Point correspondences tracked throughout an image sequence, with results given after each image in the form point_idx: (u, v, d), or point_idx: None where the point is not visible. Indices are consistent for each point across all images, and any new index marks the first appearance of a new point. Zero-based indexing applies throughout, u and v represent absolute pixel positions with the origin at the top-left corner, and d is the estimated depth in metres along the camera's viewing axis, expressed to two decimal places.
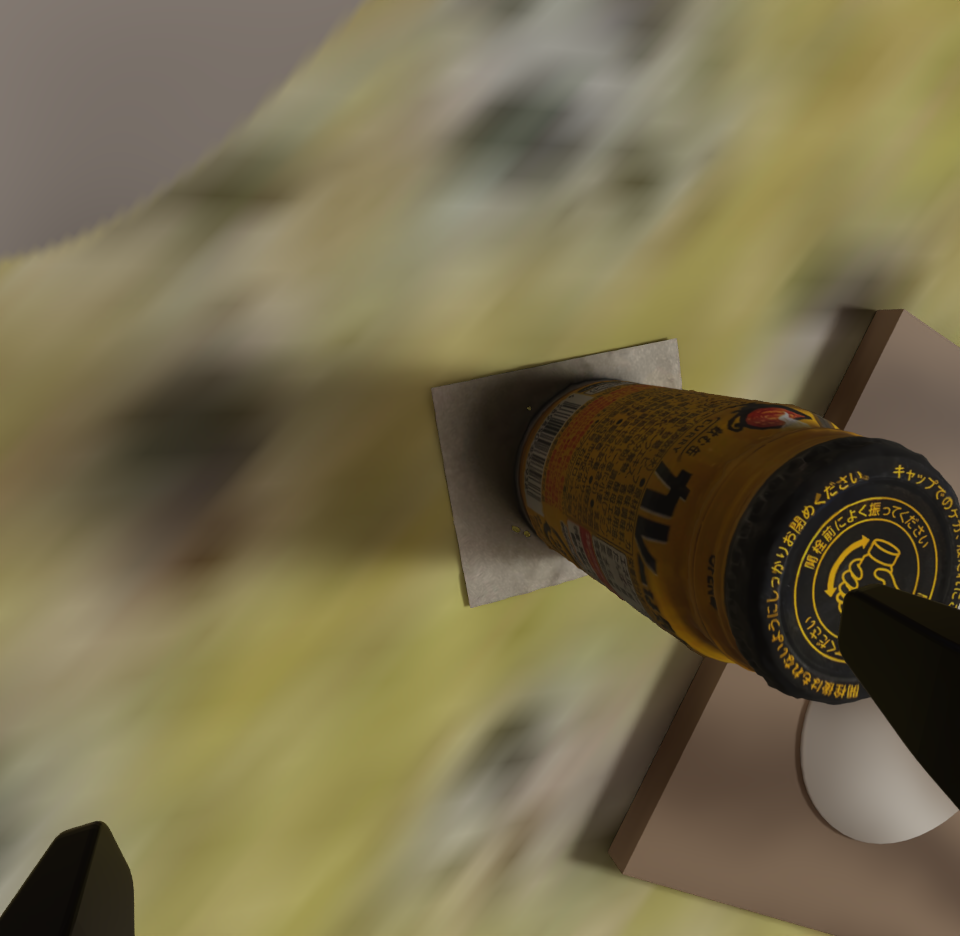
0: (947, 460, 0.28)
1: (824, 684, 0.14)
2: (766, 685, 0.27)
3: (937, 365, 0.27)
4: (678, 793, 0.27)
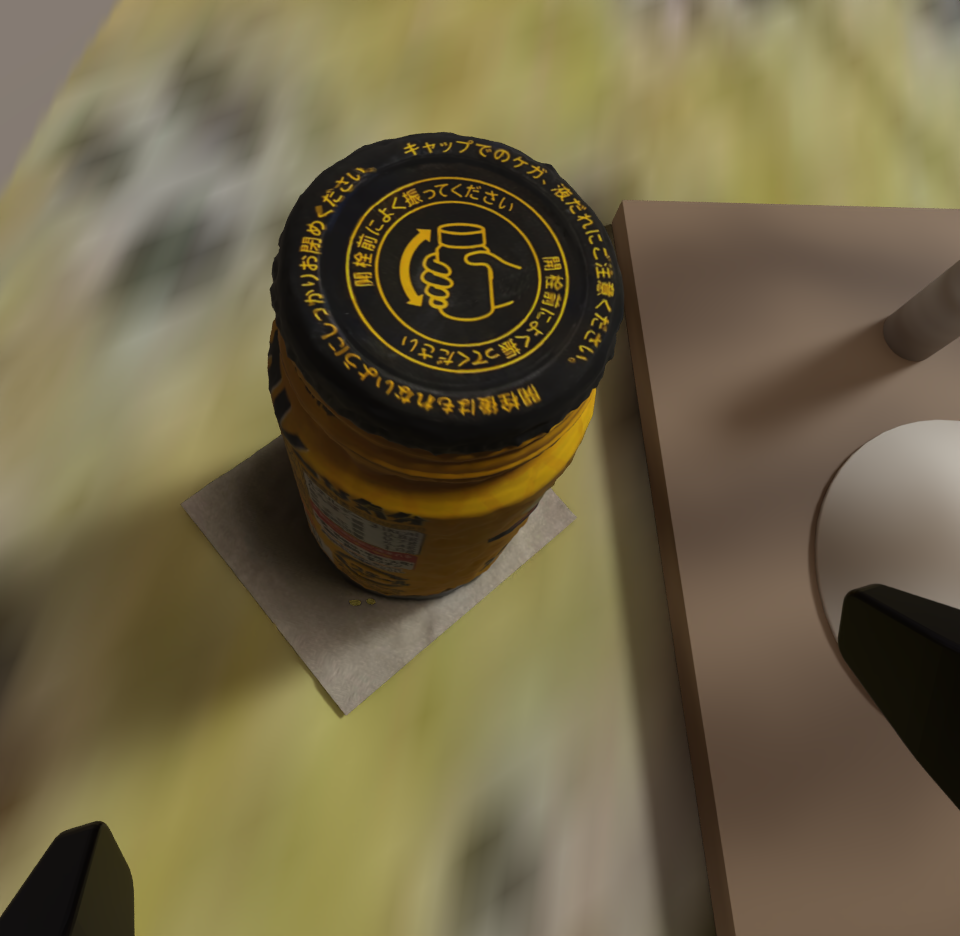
0: (779, 298, 0.25)
1: (480, 403, 0.10)
2: (756, 623, 0.21)
3: (696, 225, 0.25)
4: (741, 817, 0.19)
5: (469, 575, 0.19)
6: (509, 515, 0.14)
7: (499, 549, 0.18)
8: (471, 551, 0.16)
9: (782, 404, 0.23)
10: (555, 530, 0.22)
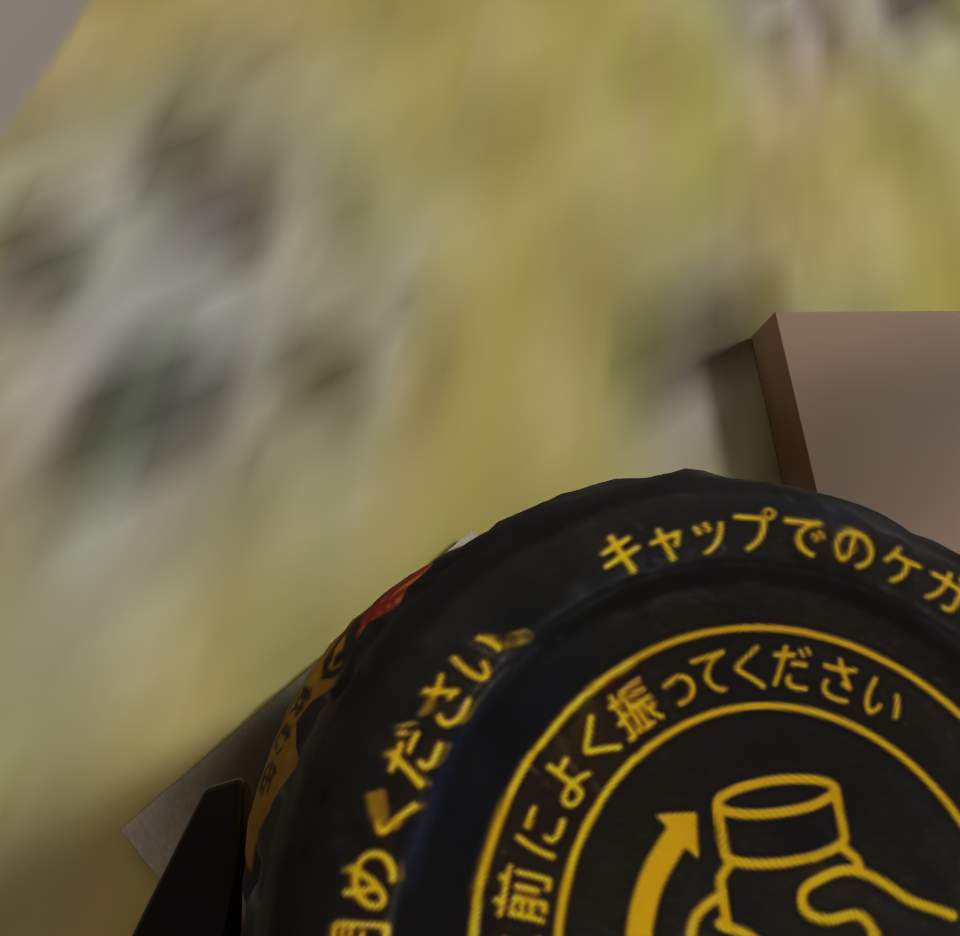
0: None
1: None
2: None
3: (878, 347, 0.18)
4: None
5: None
6: None
7: None
8: None
9: None
10: None
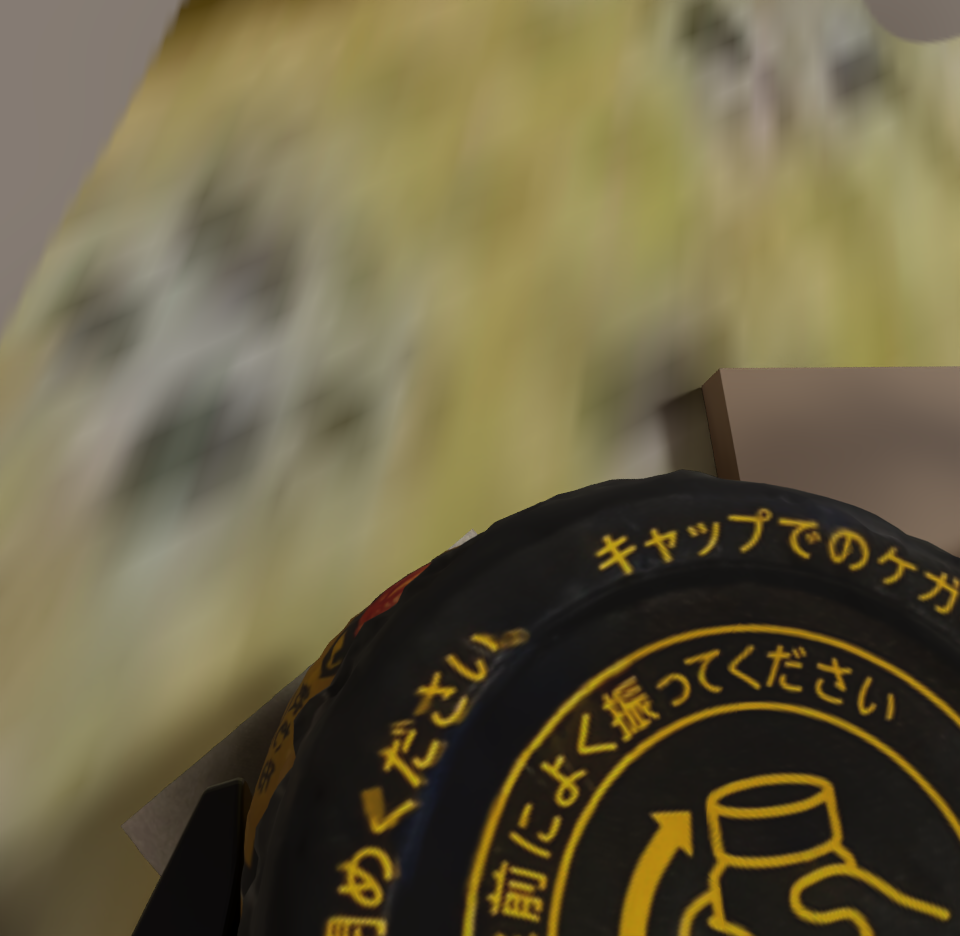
0: (906, 488, 0.21)
1: None
2: None
3: (806, 398, 0.21)
4: None
5: None
6: None
7: None
8: None
9: None
10: None
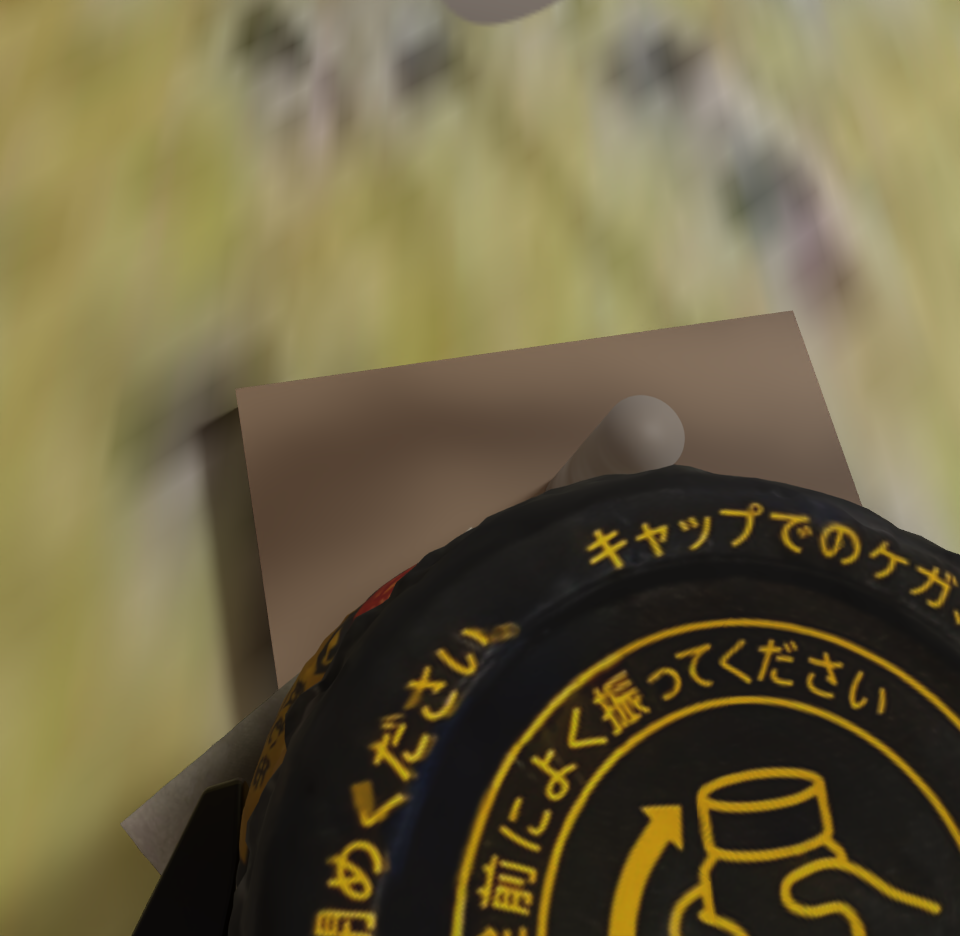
0: (423, 481, 0.22)
1: None
2: None
3: (325, 406, 0.22)
4: None
5: None
6: None
7: None
8: None
9: None
10: None
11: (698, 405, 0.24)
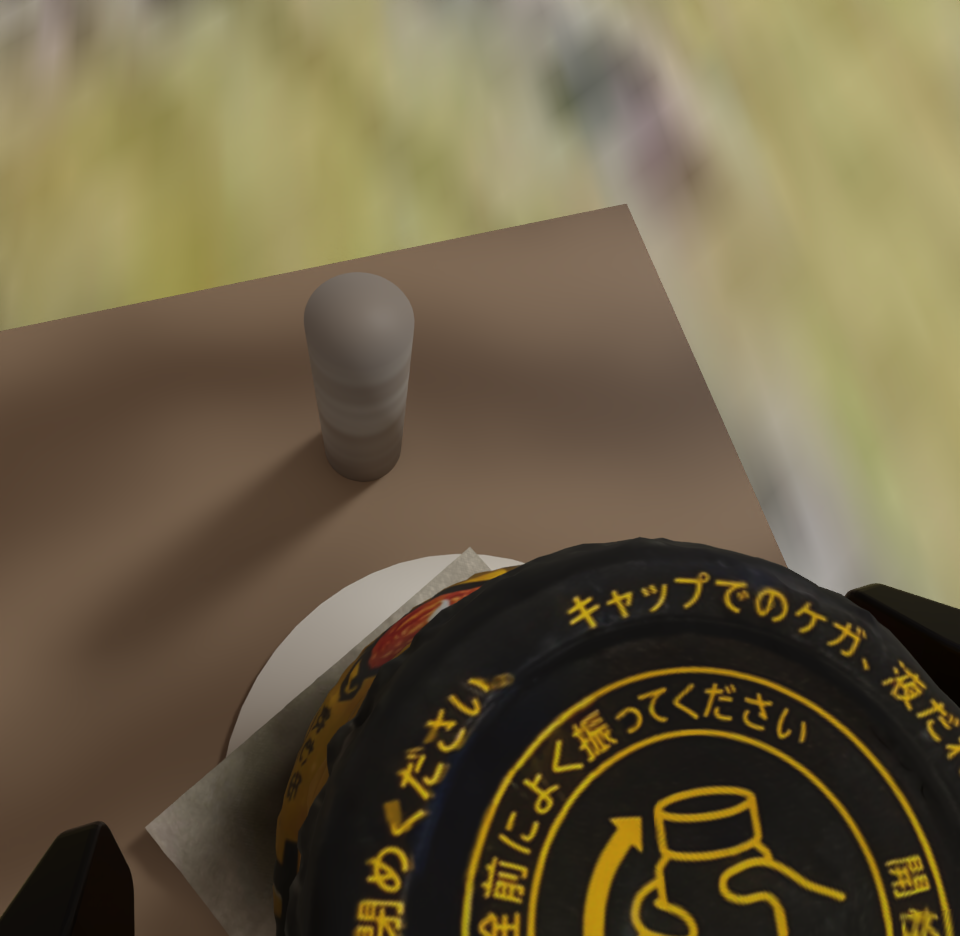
0: (168, 438, 0.18)
1: None
2: None
3: (39, 359, 0.18)
4: None
5: None
6: None
7: None
8: None
9: (171, 600, 0.17)
10: None
11: (516, 320, 0.20)
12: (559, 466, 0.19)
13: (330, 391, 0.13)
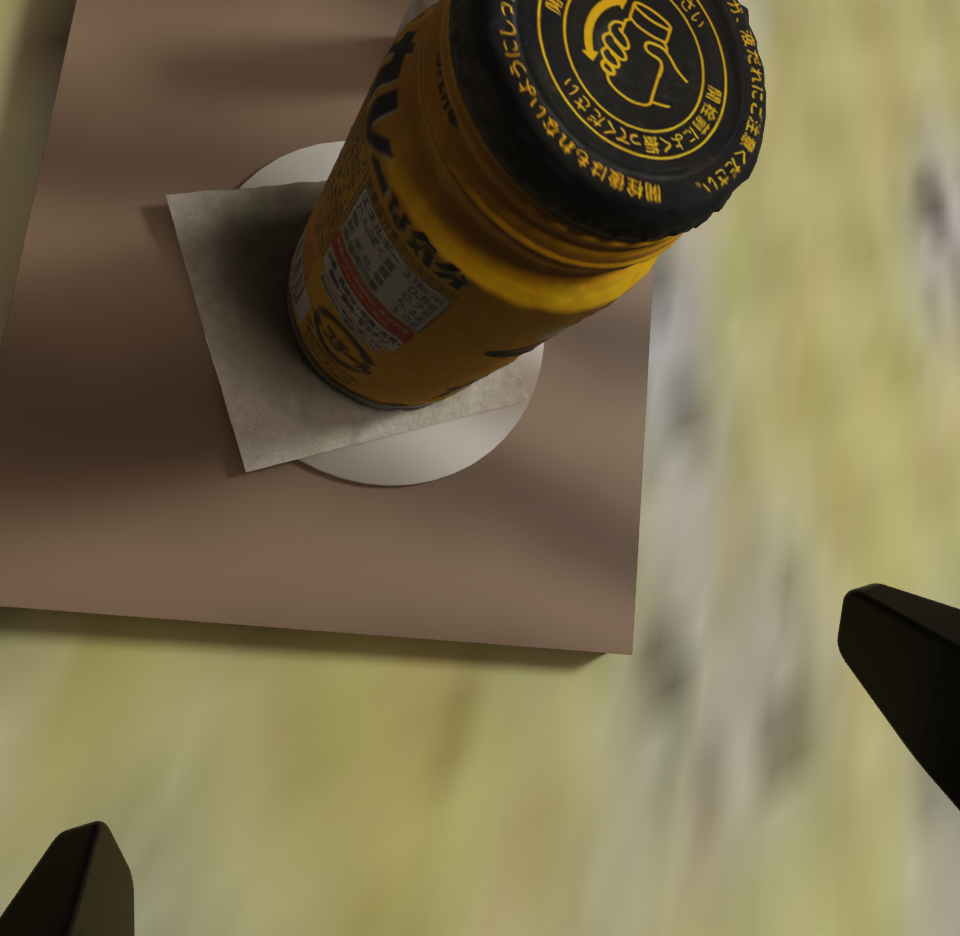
0: None
1: (610, 174, 0.10)
2: (110, 277, 0.19)
3: None
4: (9, 456, 0.18)
5: (429, 391, 0.19)
6: (535, 325, 0.14)
7: (469, 379, 0.18)
8: (464, 355, 0.16)
9: (238, 75, 0.21)
10: (505, 401, 0.23)
11: None
12: None
13: None
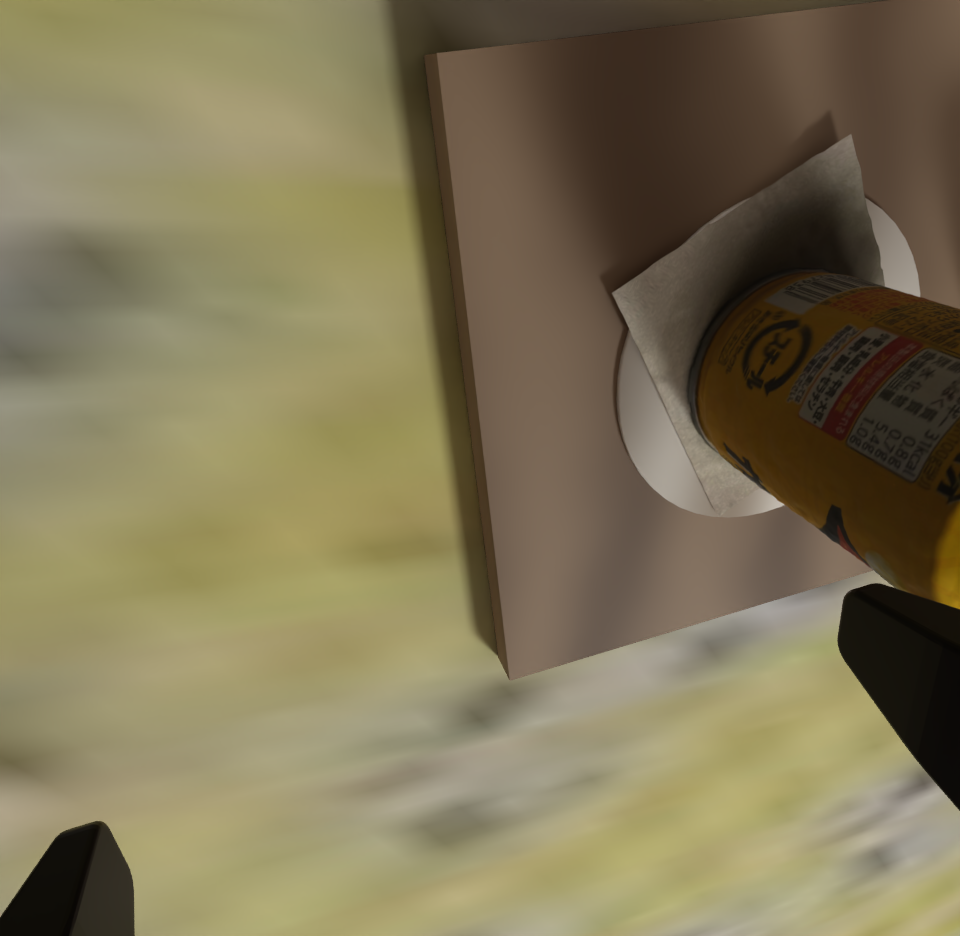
0: None
1: None
2: (763, 104, 0.19)
3: None
4: (583, 66, 0.17)
5: (744, 446, 0.19)
6: (906, 559, 0.15)
7: (767, 480, 0.19)
8: (826, 487, 0.17)
9: None
10: (713, 497, 0.24)
11: None
12: None
13: None
